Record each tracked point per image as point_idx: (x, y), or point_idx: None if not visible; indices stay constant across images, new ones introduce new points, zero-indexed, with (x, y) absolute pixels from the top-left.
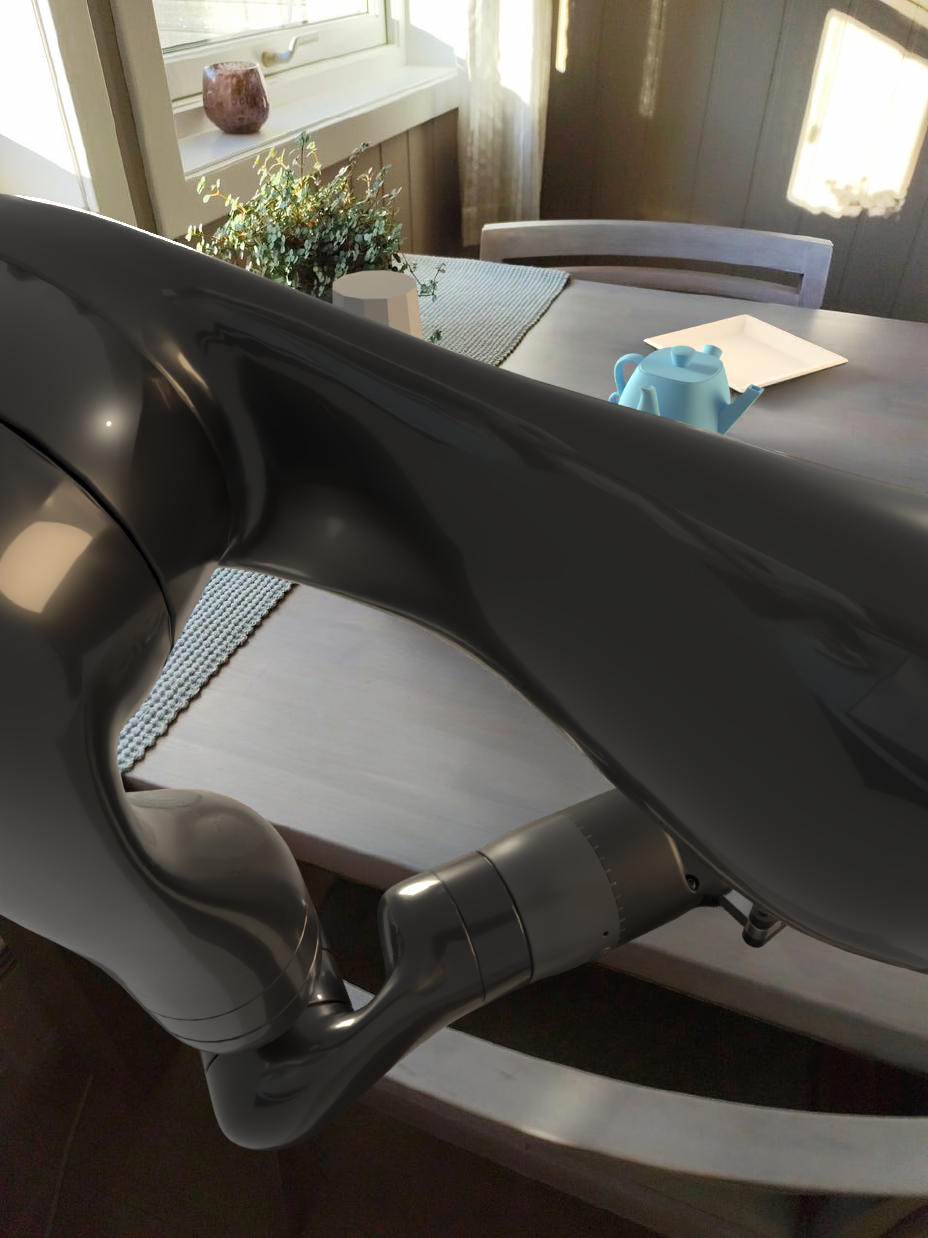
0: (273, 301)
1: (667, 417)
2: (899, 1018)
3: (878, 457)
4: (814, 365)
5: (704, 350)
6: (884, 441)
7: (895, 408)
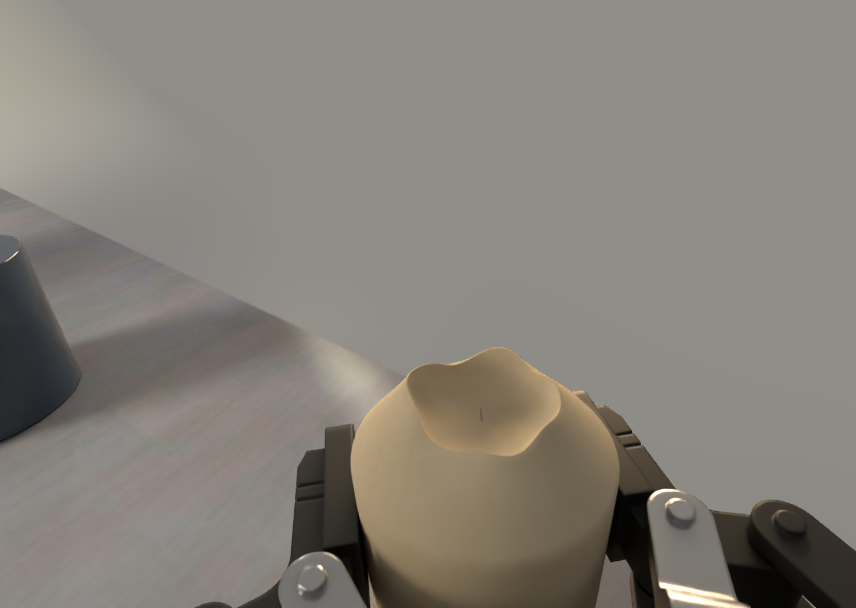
0: None
1: None
2: None
3: (29, 233)
4: None
5: None
6: (21, 224)
7: (5, 207)
